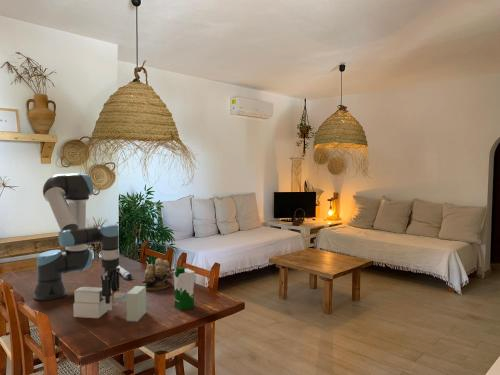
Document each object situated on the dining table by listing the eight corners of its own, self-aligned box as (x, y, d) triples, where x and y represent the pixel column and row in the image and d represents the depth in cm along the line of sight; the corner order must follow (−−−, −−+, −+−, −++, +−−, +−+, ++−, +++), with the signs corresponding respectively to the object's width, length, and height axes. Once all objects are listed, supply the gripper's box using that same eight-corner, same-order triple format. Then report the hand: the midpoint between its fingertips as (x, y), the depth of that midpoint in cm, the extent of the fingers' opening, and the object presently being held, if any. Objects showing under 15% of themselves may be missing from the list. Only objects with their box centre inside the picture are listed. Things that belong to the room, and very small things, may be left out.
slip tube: (84, 301, 175) (84, 292, 175) (89, 297, 179) (89, 288, 179) (123, 303, 173) (123, 293, 172) (127, 299, 177) (127, 290, 177)
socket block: (126, 320, 170) (126, 293, 169) (136, 311, 180) (135, 286, 179) (137, 321, 169) (137, 293, 169) (146, 312, 179) (145, 286, 178)
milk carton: (172, 306, 187) (171, 266, 186) (188, 302, 193) (187, 263, 191) (180, 312, 180) (180, 270, 179) (197, 307, 186) (196, 267, 184)
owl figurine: (167, 281, 225) (167, 253, 224) (177, 287, 216) (177, 257, 215) (138, 288, 214) (138, 258, 212) (148, 294, 205) (147, 263, 203)
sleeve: (73, 316, 174) (73, 291, 173) (83, 310, 182) (82, 285, 181) (98, 318, 173) (97, 292, 172) (107, 311, 181) (106, 286, 180)
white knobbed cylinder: (124, 274, 227) (109, 260, 245) (124, 284, 228) (109, 270, 246) (133, 272, 230) (117, 259, 249) (132, 283, 231) (117, 268, 250)
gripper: (108, 263, 165) (110, 315, 167) (126, 253, 182) (127, 301, 184) (92, 262, 166) (93, 314, 168) (111, 253, 183) (112, 300, 185)
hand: (111, 307), depth 176 cm, fingers closed on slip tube, 4 cm apart
